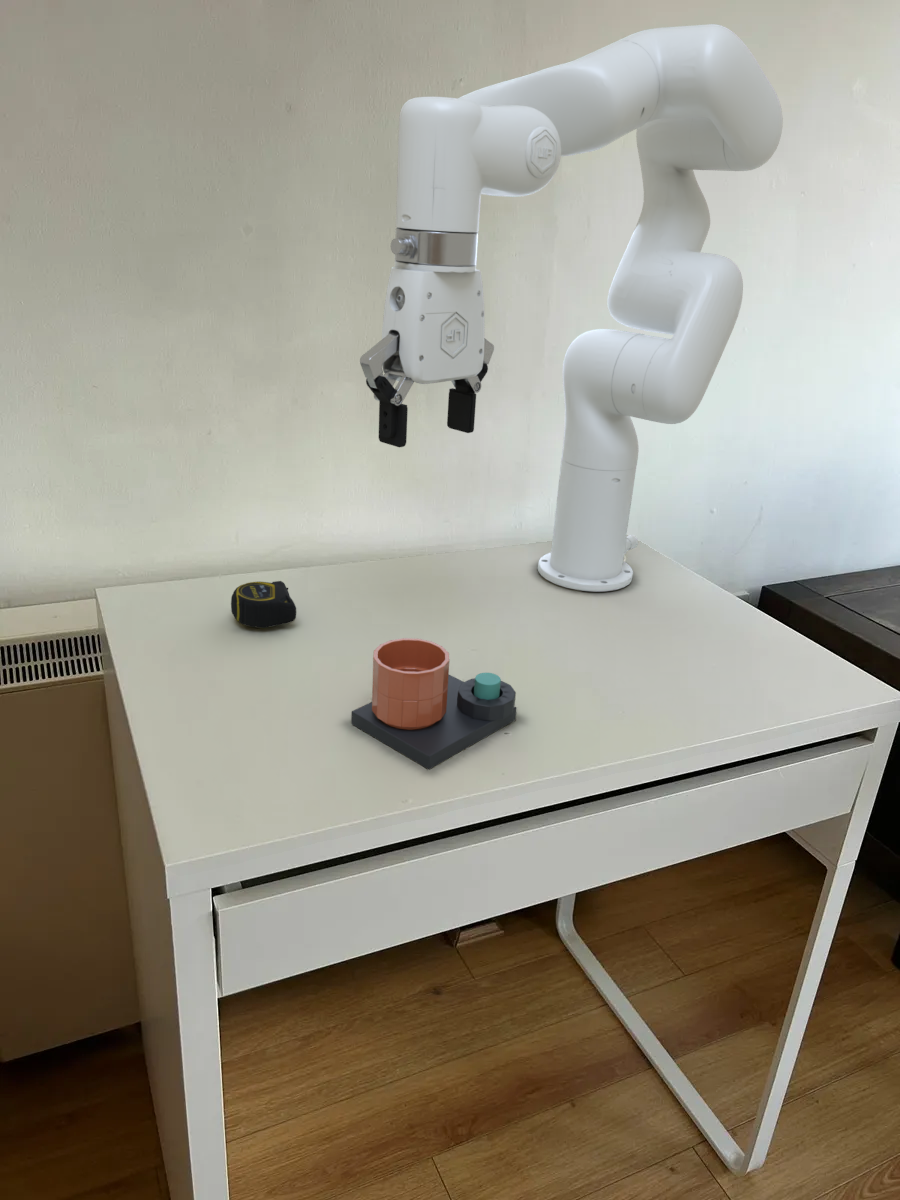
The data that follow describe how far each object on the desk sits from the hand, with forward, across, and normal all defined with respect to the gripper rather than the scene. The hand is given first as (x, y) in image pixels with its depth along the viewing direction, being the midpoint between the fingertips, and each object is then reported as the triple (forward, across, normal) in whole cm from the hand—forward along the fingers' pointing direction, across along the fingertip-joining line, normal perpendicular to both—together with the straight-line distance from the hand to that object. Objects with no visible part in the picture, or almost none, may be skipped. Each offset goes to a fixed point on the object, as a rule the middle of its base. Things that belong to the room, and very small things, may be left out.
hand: (427, 436), depth 89 cm
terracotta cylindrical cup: (+22, -12, -11) cm, 27 cm away
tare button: (+21, -6, -15) cm, 26 cm away
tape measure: (+24, -8, +16) cm, 30 cm away
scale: (+23, -10, -12) cm, 28 cm away
